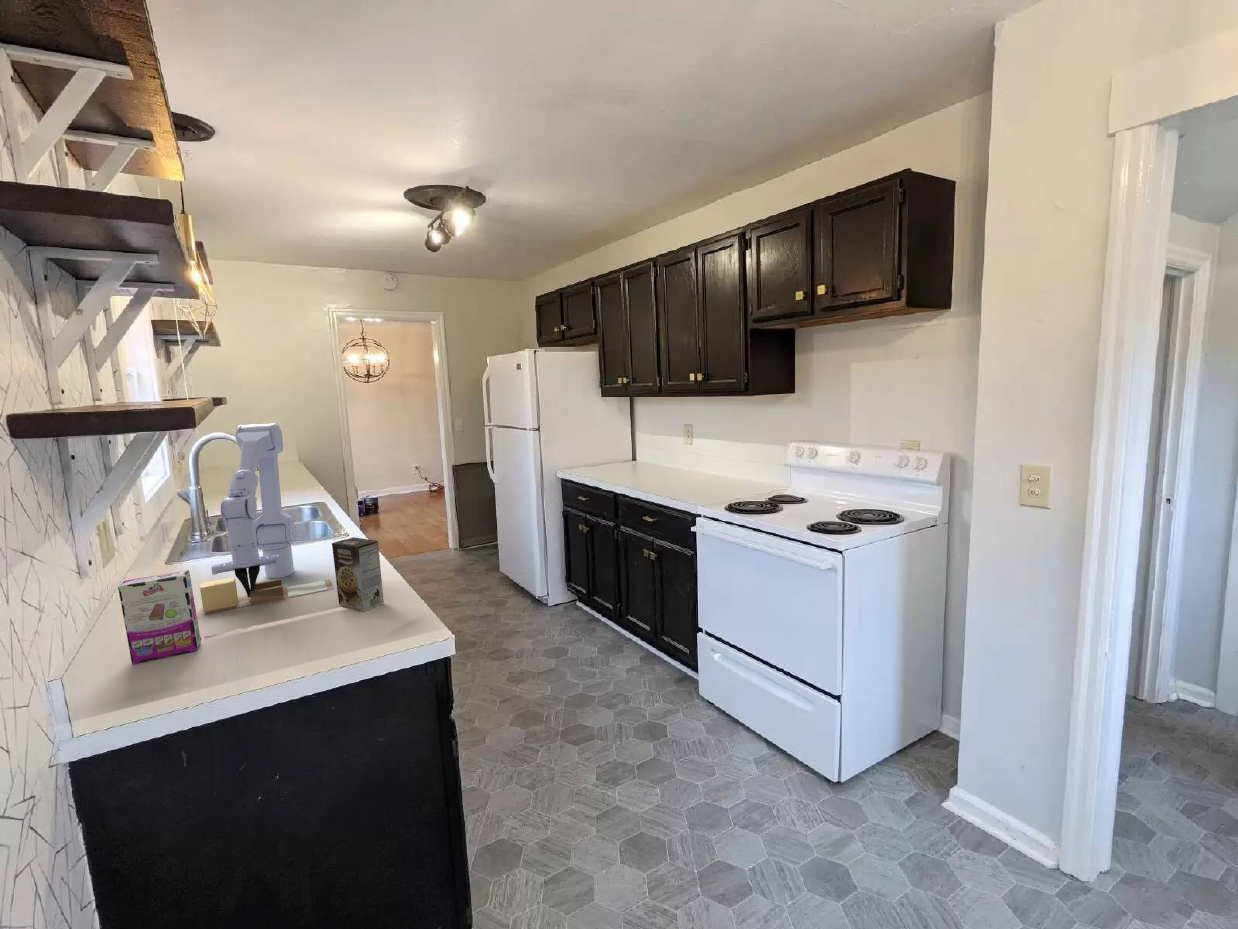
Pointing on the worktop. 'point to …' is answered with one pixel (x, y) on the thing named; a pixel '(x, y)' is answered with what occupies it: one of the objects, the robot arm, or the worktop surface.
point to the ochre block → (219, 594)
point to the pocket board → (276, 593)
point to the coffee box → (358, 573)
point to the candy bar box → (159, 616)
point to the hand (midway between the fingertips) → (251, 596)
